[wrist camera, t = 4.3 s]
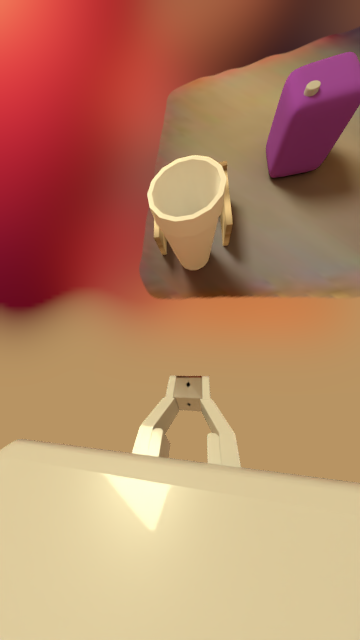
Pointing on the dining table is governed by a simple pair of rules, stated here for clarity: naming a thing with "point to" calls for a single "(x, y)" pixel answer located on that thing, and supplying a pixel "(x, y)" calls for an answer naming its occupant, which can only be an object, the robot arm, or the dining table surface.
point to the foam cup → (189, 206)
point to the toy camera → (312, 114)
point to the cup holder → (225, 218)
